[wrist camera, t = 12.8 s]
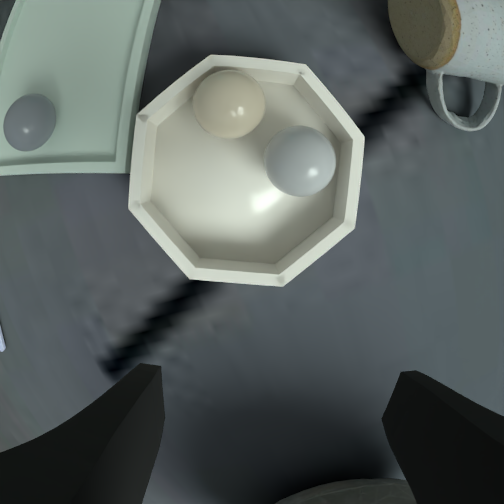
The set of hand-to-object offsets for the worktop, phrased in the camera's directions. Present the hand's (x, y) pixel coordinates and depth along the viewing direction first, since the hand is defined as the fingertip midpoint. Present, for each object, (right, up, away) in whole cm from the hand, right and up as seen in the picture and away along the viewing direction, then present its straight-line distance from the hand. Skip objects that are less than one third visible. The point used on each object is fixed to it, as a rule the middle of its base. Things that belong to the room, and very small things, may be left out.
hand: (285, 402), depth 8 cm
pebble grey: (0, +8, +6) cm, 10 cm away
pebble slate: (-13, +12, +6) cm, 19 cm away
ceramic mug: (+12, +18, +7) cm, 23 cm away
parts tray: (-13, +17, +6) cm, 22 cm away
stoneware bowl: (-1, +9, +8) cm, 12 cm away
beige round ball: (0, +11, +5) cm, 12 cm away
